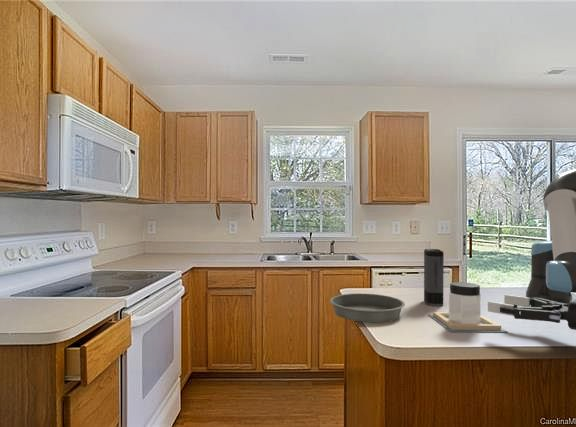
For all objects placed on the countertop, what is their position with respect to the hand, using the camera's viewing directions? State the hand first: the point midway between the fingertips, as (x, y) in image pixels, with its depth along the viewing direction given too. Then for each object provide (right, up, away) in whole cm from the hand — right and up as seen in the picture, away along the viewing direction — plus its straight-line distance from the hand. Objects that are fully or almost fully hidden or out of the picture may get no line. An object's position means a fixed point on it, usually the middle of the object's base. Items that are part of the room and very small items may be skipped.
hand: (496, 302), depth 111 cm
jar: (-7, -8, +4) cm, 12 cm away
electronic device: (-6, -8, +33) cm, 35 cm away
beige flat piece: (-6, -8, +6) cm, 12 cm away
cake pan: (-34, -8, +18) cm, 39 cm away
